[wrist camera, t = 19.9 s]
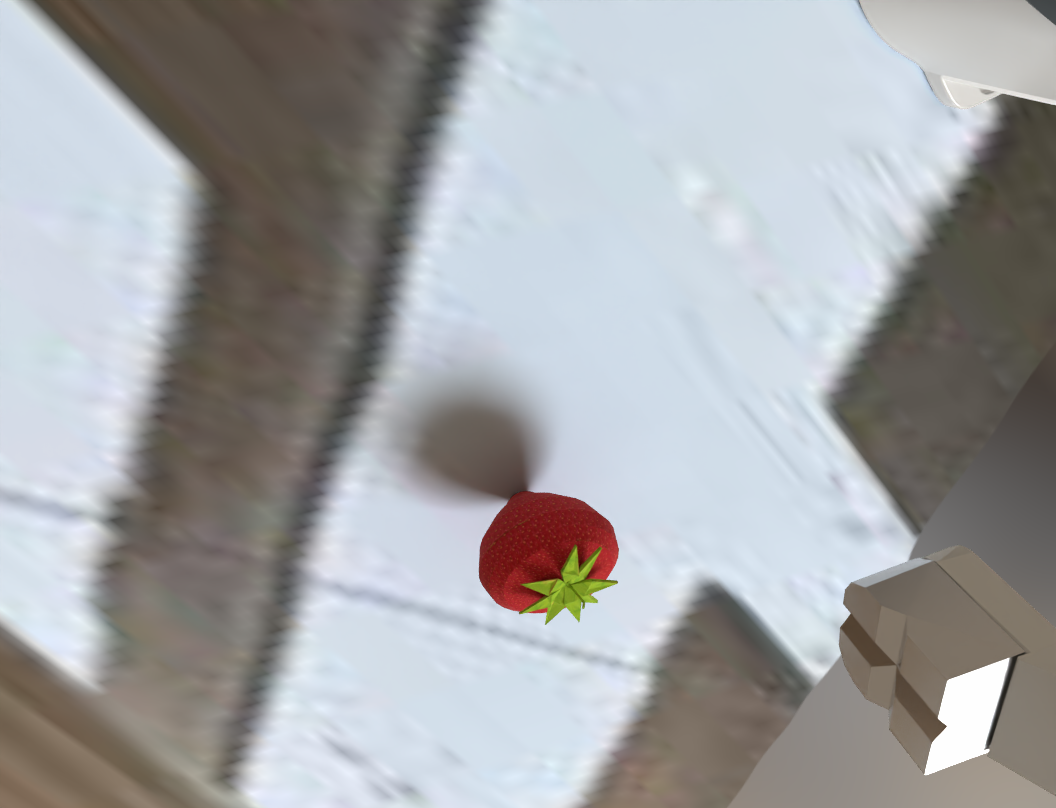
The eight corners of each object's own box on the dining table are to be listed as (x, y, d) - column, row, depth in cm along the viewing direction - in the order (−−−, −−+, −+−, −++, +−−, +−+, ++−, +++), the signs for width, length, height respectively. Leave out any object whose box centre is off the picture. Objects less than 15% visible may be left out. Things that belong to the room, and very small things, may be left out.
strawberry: (445, 473, 48) (496, 603, 40) (575, 435, 49) (650, 553, 41) (463, 551, 51) (512, 684, 43) (583, 513, 52) (653, 636, 44)
